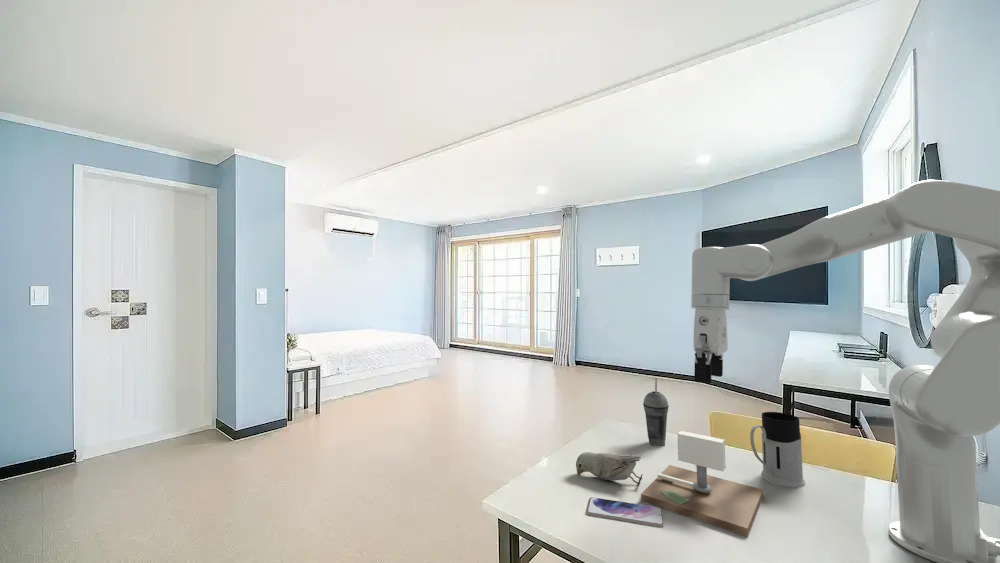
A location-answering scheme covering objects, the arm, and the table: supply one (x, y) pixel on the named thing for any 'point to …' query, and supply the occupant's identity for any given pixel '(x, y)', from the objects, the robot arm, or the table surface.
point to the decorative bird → (608, 465)
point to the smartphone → (625, 511)
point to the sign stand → (700, 457)
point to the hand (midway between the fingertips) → (708, 379)
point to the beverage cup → (656, 417)
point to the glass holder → (780, 449)
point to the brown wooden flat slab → (706, 500)
